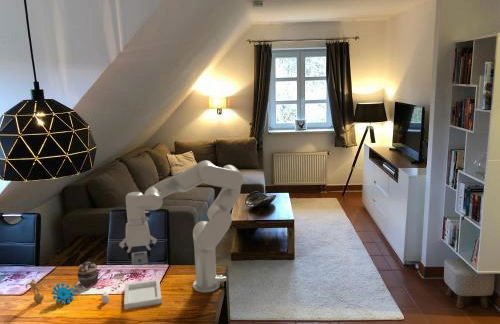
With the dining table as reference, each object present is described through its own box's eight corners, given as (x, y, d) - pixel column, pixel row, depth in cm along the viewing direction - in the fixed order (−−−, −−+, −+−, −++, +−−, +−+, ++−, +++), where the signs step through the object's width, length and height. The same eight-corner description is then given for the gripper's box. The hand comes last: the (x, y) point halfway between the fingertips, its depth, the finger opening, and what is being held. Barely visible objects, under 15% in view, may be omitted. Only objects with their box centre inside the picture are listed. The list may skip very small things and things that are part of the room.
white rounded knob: (109, 299, 179) (108, 291, 178) (108, 303, 176) (108, 295, 175) (102, 300, 178) (101, 292, 177) (102, 304, 175) (101, 296, 174)
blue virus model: (60, 306, 171) (48, 286, 174) (53, 313, 173) (42, 294, 176) (81, 296, 181) (70, 278, 184) (74, 303, 184) (63, 285, 186)
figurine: (50, 299, 180) (47, 274, 177) (43, 306, 174) (39, 281, 171) (33, 298, 180) (29, 274, 178) (24, 306, 174) (20, 281, 172)
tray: (159, 283, 191) (159, 278, 191) (161, 303, 175) (161, 298, 174) (125, 288, 187) (125, 283, 187) (124, 309, 171) (124, 304, 170)
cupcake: (73, 285, 191) (71, 266, 189) (88, 276, 200) (86, 257, 197) (89, 289, 187) (86, 270, 185) (104, 279, 196) (101, 260, 194)
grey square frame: (147, 256, 181) (147, 251, 181) (148, 264, 173) (147, 259, 173) (131, 258, 180) (131, 252, 179) (131, 266, 172) (131, 261, 171)
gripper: (156, 215, 179) (159, 252, 183) (115, 219, 174) (119, 257, 178) (157, 221, 172) (160, 259, 176) (115, 226, 167) (118, 265, 171)
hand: (139, 258), depth 177 cm, fingers closed on grey square frame, 6 cm apart
